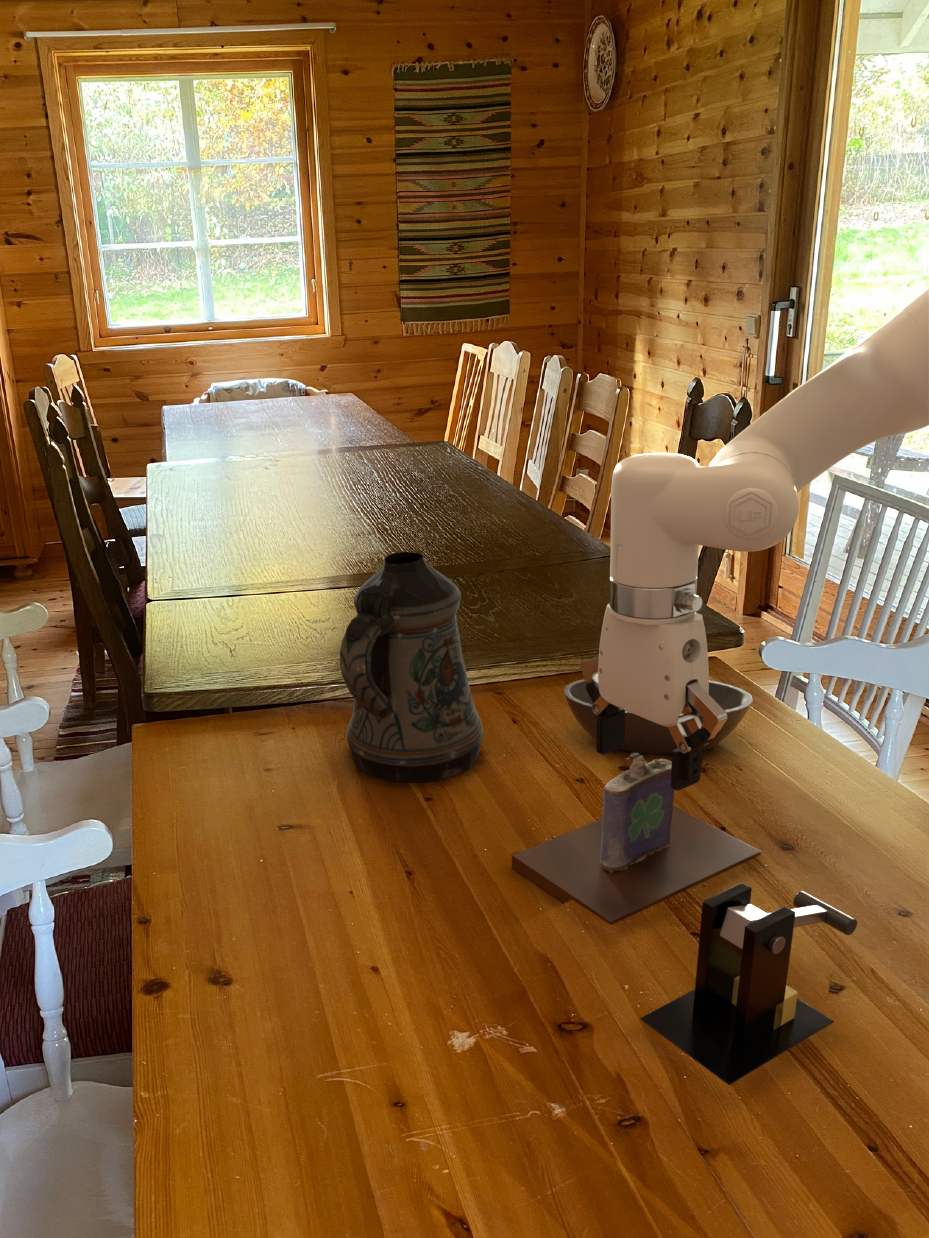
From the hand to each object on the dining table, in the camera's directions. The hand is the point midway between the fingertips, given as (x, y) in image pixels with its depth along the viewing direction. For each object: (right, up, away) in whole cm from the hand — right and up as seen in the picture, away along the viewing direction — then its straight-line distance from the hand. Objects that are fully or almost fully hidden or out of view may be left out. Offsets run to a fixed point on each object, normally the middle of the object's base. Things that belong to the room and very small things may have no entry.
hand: (646, 766), depth 105 cm
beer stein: (-21, -1, +29) cm, 36 cm away
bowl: (+8, +1, +30) cm, 31 cm away
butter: (+5, -18, -17) cm, 25 cm away
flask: (0, -9, +4) cm, 10 cm away
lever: (+6, -12, -19) cm, 23 cm away
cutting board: (0, -10, +5) cm, 11 cm away
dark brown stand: (+2, -20, -18) cm, 27 cm away
